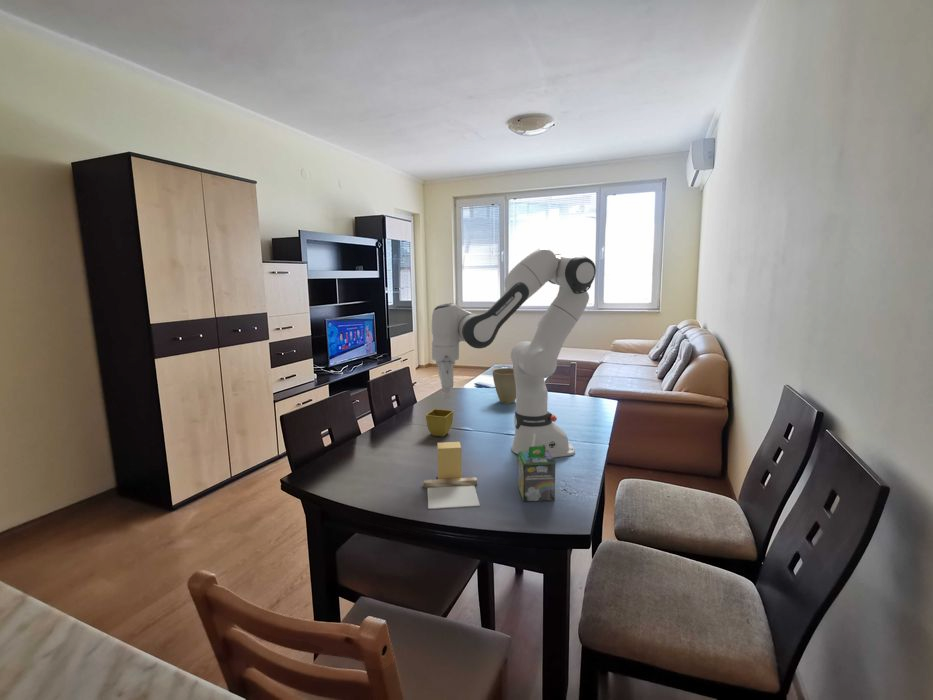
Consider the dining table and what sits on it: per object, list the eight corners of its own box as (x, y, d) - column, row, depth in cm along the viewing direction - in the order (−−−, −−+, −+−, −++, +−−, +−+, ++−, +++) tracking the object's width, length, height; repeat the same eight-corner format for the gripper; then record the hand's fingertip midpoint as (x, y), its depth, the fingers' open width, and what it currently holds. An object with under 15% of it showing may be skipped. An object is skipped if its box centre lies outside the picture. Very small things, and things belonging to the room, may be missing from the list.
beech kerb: (476, 481, 136) (476, 477, 136) (477, 484, 134) (477, 480, 134) (423, 484, 134) (423, 480, 134) (424, 487, 132) (423, 483, 132)
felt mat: (474, 486, 133) (474, 485, 133) (479, 506, 121) (479, 505, 121) (427, 488, 132) (427, 487, 132) (428, 509, 120) (428, 508, 120)
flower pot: (446, 439, 173) (445, 416, 172) (425, 436, 176) (425, 414, 174) (454, 431, 181) (453, 410, 180) (434, 429, 184) (433, 408, 183)
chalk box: (548, 486, 133) (549, 438, 130) (555, 501, 124) (556, 450, 121) (517, 487, 132) (517, 439, 130) (522, 502, 123) (523, 451, 121)
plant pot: (507, 396, 236) (507, 366, 233) (527, 402, 224) (528, 371, 222) (486, 401, 226) (486, 370, 224) (506, 407, 215) (506, 375, 213)
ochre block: (460, 474, 141) (459, 441, 139) (461, 481, 136) (461, 447, 134) (438, 475, 140) (437, 442, 139) (438, 483, 135) (438, 448, 134)
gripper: (458, 359, 134) (458, 403, 137) (452, 349, 154) (452, 387, 157) (437, 359, 134) (437, 404, 136) (434, 349, 154) (435, 388, 156)
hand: (445, 395), depth 146 cm, fingers open, 8 cm apart
